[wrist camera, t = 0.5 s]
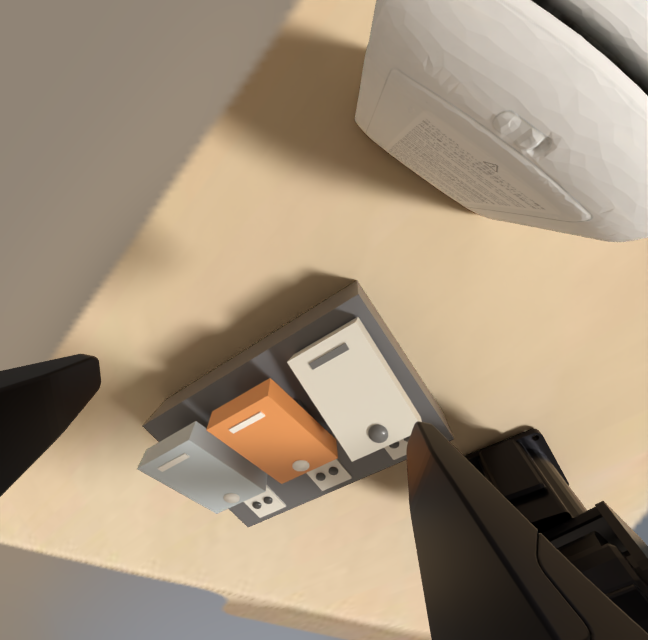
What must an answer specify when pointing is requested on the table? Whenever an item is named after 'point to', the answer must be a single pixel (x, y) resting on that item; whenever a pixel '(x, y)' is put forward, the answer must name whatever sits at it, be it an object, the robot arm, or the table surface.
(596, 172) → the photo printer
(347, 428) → the ivory rocker
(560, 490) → the robot arm
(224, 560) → the table surface
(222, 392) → the power strip
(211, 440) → the grey-blue rocker
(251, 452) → the orange box with knob
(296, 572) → the table surface
